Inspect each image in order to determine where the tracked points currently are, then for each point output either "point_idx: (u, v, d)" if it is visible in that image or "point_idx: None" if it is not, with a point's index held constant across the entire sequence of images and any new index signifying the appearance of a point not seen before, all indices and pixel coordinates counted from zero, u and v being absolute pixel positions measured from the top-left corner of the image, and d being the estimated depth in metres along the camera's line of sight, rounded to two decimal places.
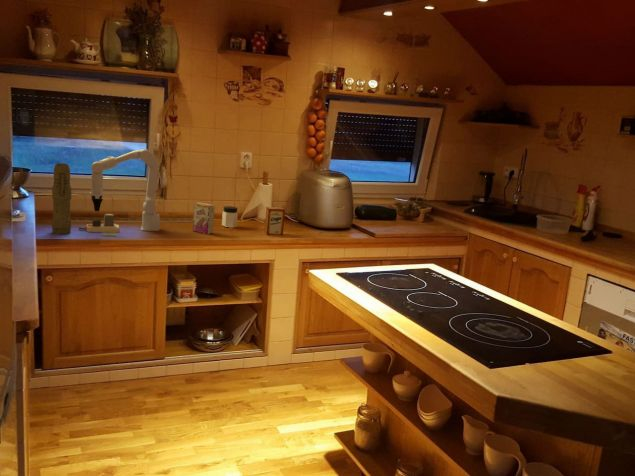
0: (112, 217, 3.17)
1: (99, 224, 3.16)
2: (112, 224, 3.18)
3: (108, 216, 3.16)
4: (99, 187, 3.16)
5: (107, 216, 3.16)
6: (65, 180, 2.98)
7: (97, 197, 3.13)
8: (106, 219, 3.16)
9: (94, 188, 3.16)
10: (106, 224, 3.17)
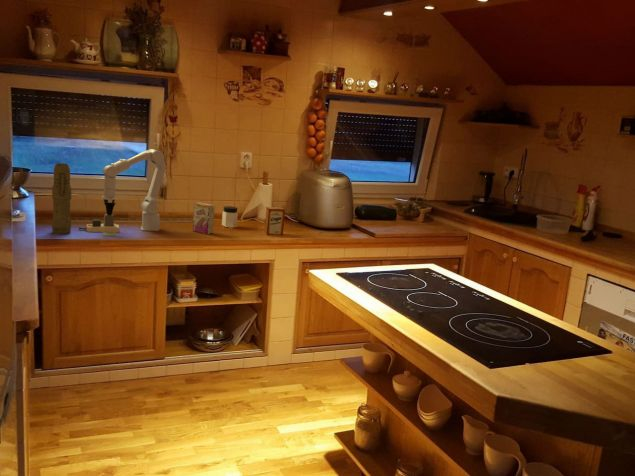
0: (112, 217, 3.17)
1: (99, 224, 3.16)
2: (112, 224, 3.18)
3: (108, 216, 3.16)
4: (111, 191, 3.14)
5: (107, 216, 3.16)
6: (65, 180, 2.98)
7: (110, 201, 3.10)
8: (106, 219, 3.16)
9: (107, 192, 3.13)
10: (106, 224, 3.17)
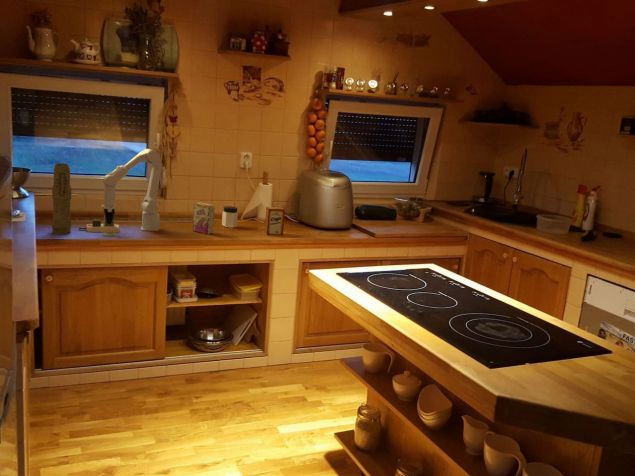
0: None
1: (99, 224, 3.16)
2: (112, 224, 3.18)
3: None
4: (111, 200, 3.15)
5: None
6: (65, 180, 2.98)
7: (110, 210, 3.11)
8: None
9: (106, 201, 3.14)
10: (106, 224, 3.17)
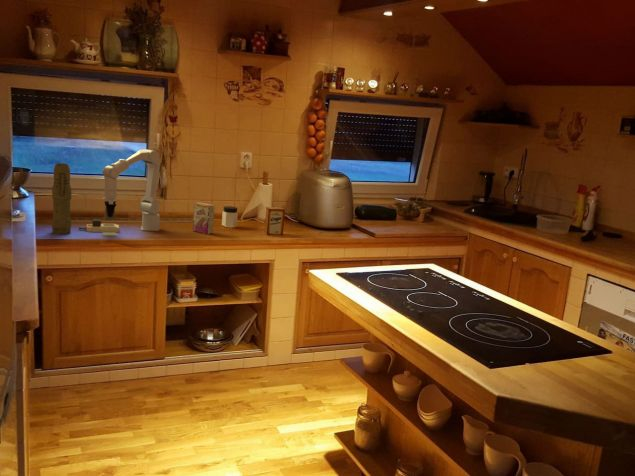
0: None
1: (99, 224, 3.16)
2: (113, 217, 3.08)
3: None
4: (112, 192, 3.05)
5: None
6: (65, 180, 2.98)
7: (111, 203, 3.01)
8: None
9: (107, 193, 3.04)
10: (107, 217, 3.07)
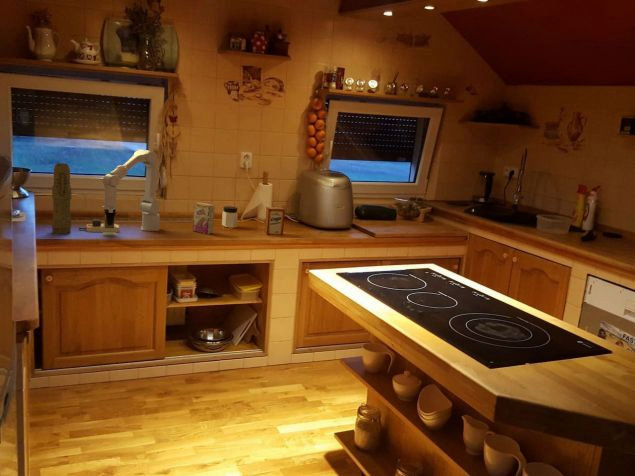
0: None
1: (99, 224, 3.16)
2: (113, 225, 3.09)
3: None
4: (112, 200, 3.05)
5: None
6: (65, 180, 2.98)
7: (110, 211, 3.02)
8: (106, 220, 3.07)
9: (107, 201, 3.05)
10: (106, 225, 3.07)
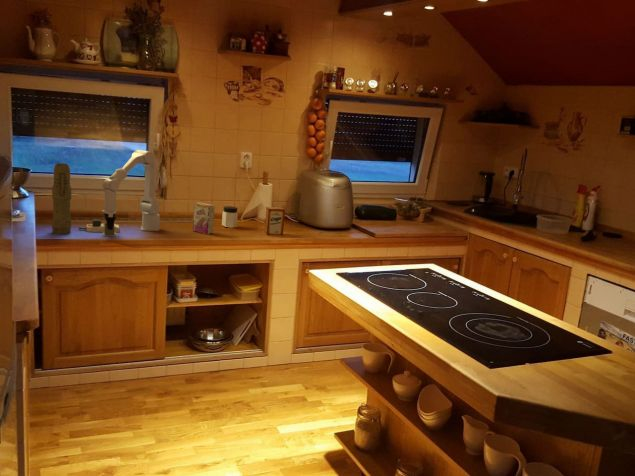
0: None
1: (99, 224, 3.16)
2: (112, 232, 3.09)
3: None
4: (112, 205, 3.06)
5: None
6: (65, 180, 2.98)
7: (110, 215, 3.02)
8: (106, 227, 3.08)
9: (107, 206, 3.05)
10: (106, 232, 3.08)
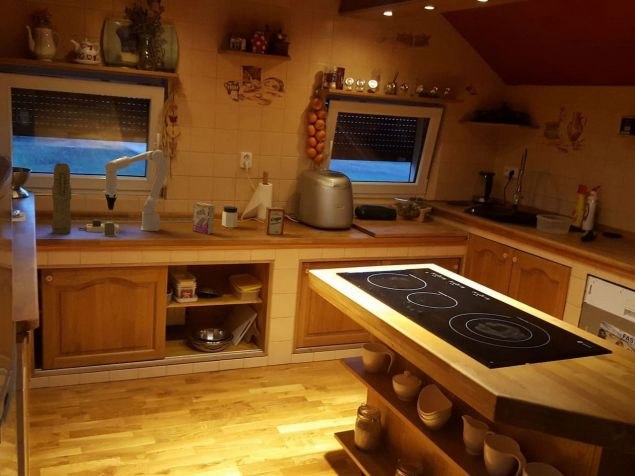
0: (112, 225, 3.08)
1: (99, 224, 3.16)
2: (112, 232, 3.09)
3: (108, 224, 3.08)
4: (113, 186, 3.22)
5: (107, 224, 3.07)
6: (65, 180, 2.98)
7: (111, 196, 3.18)
8: (106, 227, 3.08)
9: (108, 187, 3.21)
10: (106, 232, 3.08)
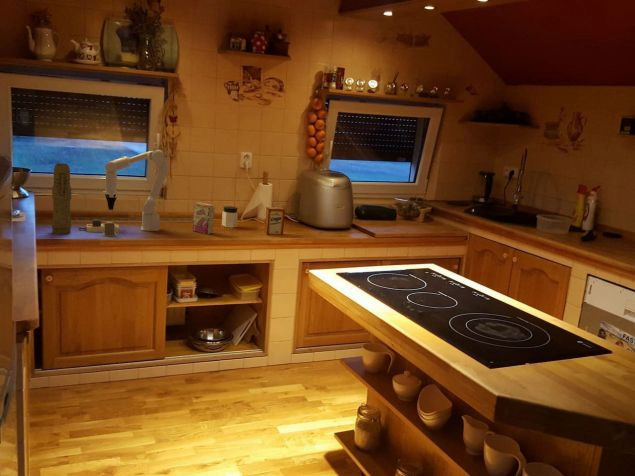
0: (112, 225, 3.08)
1: (99, 224, 3.16)
2: (112, 232, 3.09)
3: (108, 224, 3.08)
4: (113, 186, 3.22)
5: (107, 224, 3.07)
6: (65, 180, 2.98)
7: (111, 196, 3.18)
8: (106, 227, 3.08)
9: (108, 187, 3.21)
10: (106, 232, 3.08)
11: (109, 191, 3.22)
